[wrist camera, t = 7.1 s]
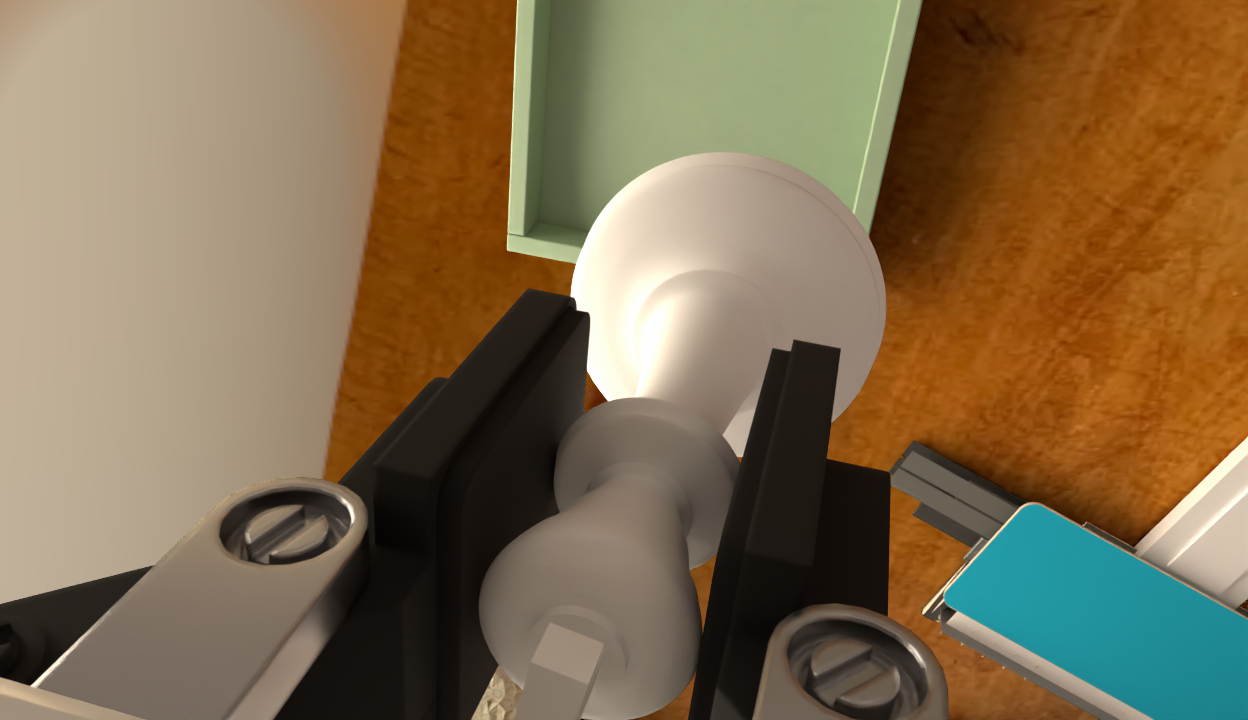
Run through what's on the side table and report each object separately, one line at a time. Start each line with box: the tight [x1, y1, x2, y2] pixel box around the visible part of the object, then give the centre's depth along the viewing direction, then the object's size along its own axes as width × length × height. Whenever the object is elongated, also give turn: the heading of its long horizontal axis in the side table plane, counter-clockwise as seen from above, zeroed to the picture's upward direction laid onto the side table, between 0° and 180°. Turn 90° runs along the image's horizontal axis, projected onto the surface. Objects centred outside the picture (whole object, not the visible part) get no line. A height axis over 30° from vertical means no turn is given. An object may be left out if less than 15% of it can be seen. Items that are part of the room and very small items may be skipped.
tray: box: [507, 0, 923, 264], centre depth 29 cm, size 11×11×2 cm
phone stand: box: [889, 437, 1248, 720], centre depth 33 cm, size 20×12×2 cm, turn 65°
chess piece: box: [479, 152, 886, 720], centre depth 11 cm, size 5×5×10 cm
